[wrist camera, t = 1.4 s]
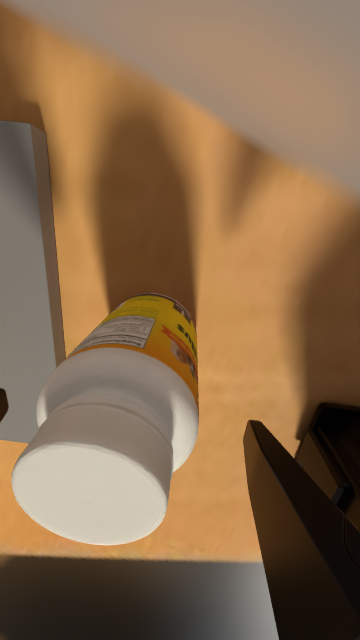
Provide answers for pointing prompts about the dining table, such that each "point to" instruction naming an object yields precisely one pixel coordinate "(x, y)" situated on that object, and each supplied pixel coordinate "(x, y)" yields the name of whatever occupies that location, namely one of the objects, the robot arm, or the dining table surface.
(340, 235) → the dining table surface
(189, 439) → the supplement bottle
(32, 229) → the grey board with ring
